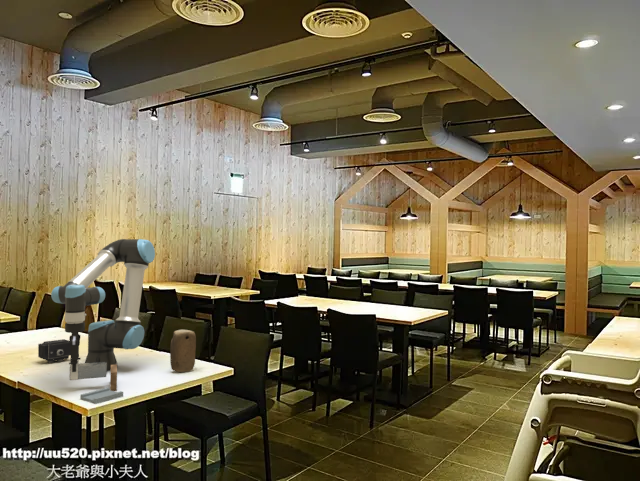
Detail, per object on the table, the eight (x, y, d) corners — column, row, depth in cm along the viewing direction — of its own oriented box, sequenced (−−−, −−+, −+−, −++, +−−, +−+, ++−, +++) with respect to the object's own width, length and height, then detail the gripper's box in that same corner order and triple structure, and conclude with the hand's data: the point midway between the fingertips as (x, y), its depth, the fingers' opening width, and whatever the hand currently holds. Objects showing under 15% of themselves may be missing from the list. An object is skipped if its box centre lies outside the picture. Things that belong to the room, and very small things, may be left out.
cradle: (107, 392, 208) (107, 387, 208) (123, 396, 202) (123, 391, 203) (80, 399, 198) (80, 394, 198) (95, 403, 192) (96, 399, 192)
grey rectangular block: (106, 374, 218) (106, 361, 218) (106, 377, 214) (106, 364, 214) (70, 377, 213) (70, 364, 213) (69, 380, 208) (69, 366, 208)
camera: (63, 360, 269) (34, 361, 257) (66, 338, 270) (36, 339, 258) (73, 363, 262) (43, 365, 250) (76, 341, 263) (46, 341, 252)
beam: (116, 381, 224) (116, 364, 224) (116, 390, 210) (117, 372, 210) (110, 382, 223) (110, 364, 223) (110, 391, 209) (110, 372, 209)
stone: (175, 374, 238) (176, 332, 239) (167, 371, 243) (168, 330, 244) (197, 370, 247) (198, 329, 247) (189, 368, 252) (190, 327, 252)
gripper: (83, 325, 204) (83, 382, 204) (86, 318, 221) (85, 371, 221) (63, 326, 201) (62, 384, 202) (66, 319, 218) (66, 373, 218)
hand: (74, 377), depth 211 cm, fingers closed on grey rectangular block, 4 cm apart
